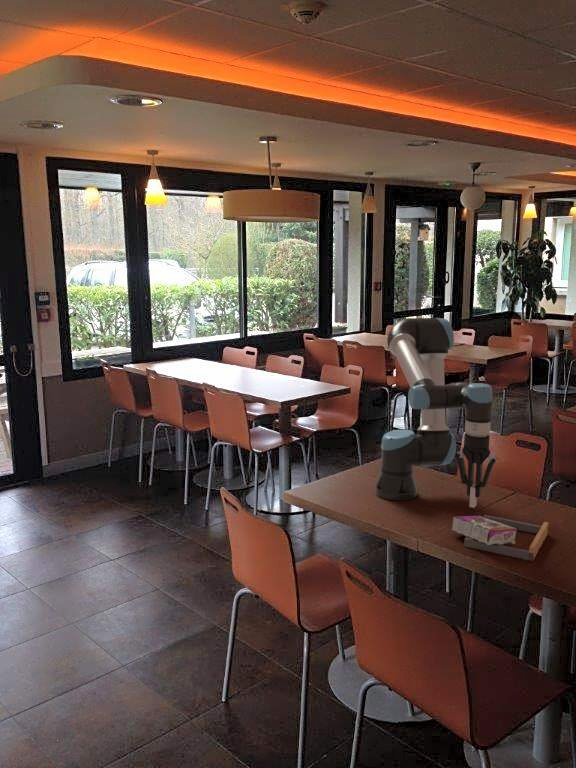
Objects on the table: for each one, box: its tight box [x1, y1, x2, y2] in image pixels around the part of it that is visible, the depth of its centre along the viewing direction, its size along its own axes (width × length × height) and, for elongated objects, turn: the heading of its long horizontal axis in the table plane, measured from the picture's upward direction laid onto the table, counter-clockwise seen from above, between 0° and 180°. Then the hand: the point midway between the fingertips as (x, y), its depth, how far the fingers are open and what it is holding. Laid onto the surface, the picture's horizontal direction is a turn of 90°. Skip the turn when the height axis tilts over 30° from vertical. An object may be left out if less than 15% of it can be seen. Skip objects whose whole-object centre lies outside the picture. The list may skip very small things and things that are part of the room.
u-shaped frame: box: [463, 514, 549, 562], centre depth 211 cm, size 20×22×4 cm
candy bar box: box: [451, 515, 518, 545], centre depth 209 cm, size 11×5×16 cm
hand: (472, 506), depth 215 cm, fingers closed
